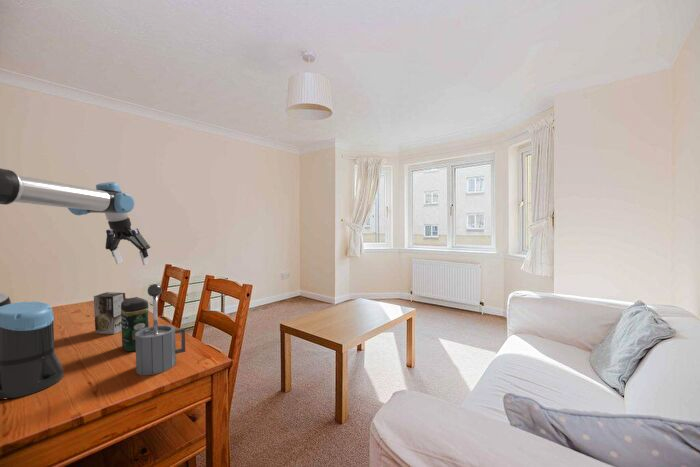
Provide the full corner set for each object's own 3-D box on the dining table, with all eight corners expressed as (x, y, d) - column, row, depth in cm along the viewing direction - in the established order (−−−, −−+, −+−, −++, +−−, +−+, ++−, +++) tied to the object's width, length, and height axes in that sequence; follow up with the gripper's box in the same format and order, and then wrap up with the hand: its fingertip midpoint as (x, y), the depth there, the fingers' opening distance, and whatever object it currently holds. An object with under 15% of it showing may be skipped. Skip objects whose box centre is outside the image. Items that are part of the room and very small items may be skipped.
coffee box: (127, 328, 131) (126, 292, 130) (114, 334, 124) (113, 296, 123) (108, 327, 132) (107, 291, 131) (94, 333, 125) (93, 295, 124)
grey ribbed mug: (136, 378, 91) (135, 340, 90) (135, 364, 99) (134, 329, 99) (187, 365, 99) (187, 330, 99) (182, 353, 108) (182, 321, 107)
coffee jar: (119, 346, 113) (117, 298, 112) (143, 340, 119) (142, 294, 118) (127, 354, 107) (125, 303, 106) (152, 347, 113) (151, 298, 112)
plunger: (141, 343, 92) (140, 288, 91) (140, 335, 99) (139, 283, 98) (171, 337, 97) (170, 284, 96) (168, 329, 103) (167, 280, 103)
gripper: (151, 216, 129) (163, 260, 137) (101, 216, 133) (116, 259, 140) (137, 221, 122) (151, 267, 130) (84, 221, 126) (101, 266, 133)
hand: (133, 263), depth 135 cm, fingers open, 13 cm apart
